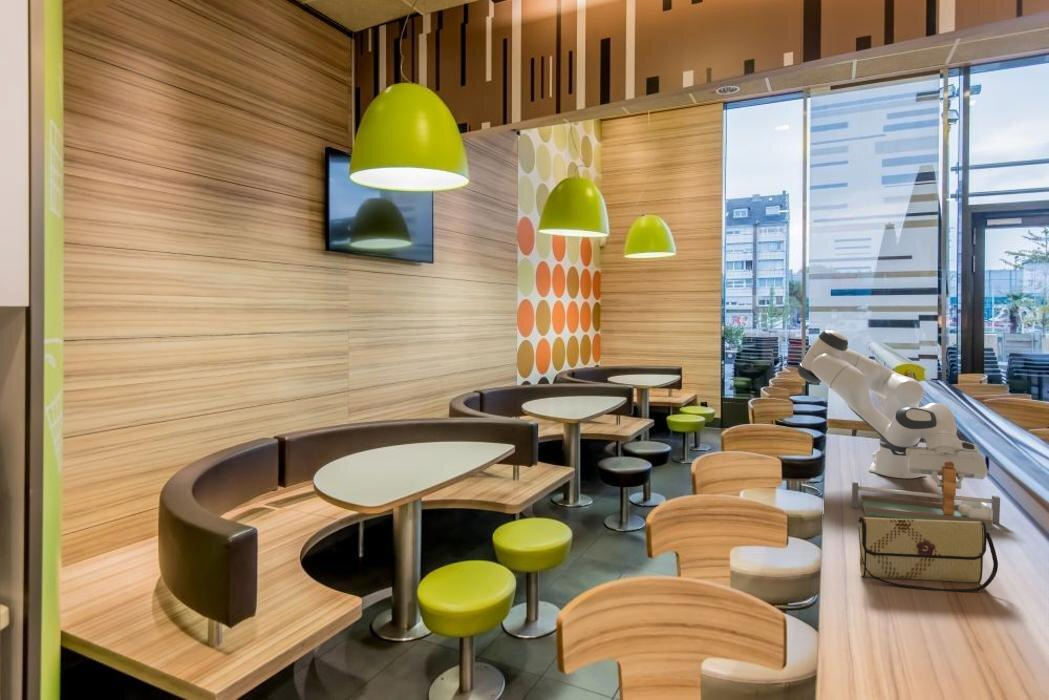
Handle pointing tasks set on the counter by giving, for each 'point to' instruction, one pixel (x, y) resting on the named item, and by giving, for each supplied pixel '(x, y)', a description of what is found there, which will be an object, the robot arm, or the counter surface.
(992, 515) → the pitch
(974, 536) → the clutch purse
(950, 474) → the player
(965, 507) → the ball
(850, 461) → the counter surface
